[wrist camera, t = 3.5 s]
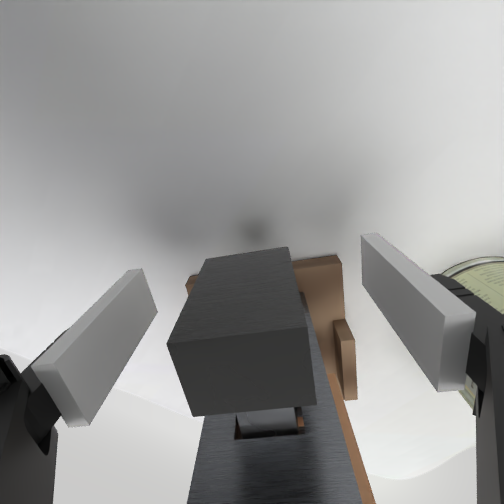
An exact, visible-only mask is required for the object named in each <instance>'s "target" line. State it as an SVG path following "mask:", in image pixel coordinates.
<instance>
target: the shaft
mask: <svg viewBox="0 0 504 504" xmlns="http://www.w3.org/2000/svg"><path fill="white" fill-rule="evenodd" d="M166 344H167V347H168V350H169V352H170V355H171V358H172V361H173V363H174V366H175V369H176V372H177V374H178V377H179V380H180V383H181V385H182V388H183V391H184V394H185V396H186V399H187V402H188V405H189V407H190V410H191V413H192V416H193V417H197V416H208V415H218V414H229V413H236V416H237V419H238V423H239V426H240V430H241V434H242V437H243V439H254V438H266V437H278V436H290V435H300V431H299V425H298V419H297V412H296V407H302V406H312V405H317V400H316V392H315V384H314V376H313V368H312V359H311V351H310V343H309V335H308V327H307V323H306V318H305V314H304V310H303V306H302V302H301V298H300V294H299V290H298V286H297V282H296V278H295V274H294V270H293V266H292V262H291V257H290V253H289V249H288V247H282V248H276V249H269V250H262V251H256V252H249V253H243V254H236V255H229V256H223V257H216V258H209V259H206V260H205V262H204V264H203V266H202V268H201V271H200V273H199V275H198V277H197V279H196V281H195V283H194V286H193V288H192V290H191V292H190V294H189V296H188V298H187V301H186V303H185V305H184V307H183V309H182V311H181V313H180V316H179V318H178V320H177V322H176V324H175V326H174V328H173V331H172V333H171V335H170V337H169V339H168V341H167V343H166Z"/></svg>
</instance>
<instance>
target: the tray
mask: <svg viewBox="0 0 504 504" xmlns="http://www.w3.org/2000/svg"><path fill="white" fill-rule="evenodd" d="M292 266H293V270H294V274H295V278H296V282H297V286H298V290H299V292H304V294H305V298H306V301H307V305H308V309H309V312H310V316H311V319H312V323H313V327H314V330H315V334H316V337H317V341H318V344H319V348H320V352H321V355H322V359H323V362H324V366H325V370H326V373H327V374H330V373H335V375H336V378H337V382H338V385H339V388H340V391H341V394H342V397H343V400H345V401H347V400H357V399H358V398H357V376H356V354H355V339H354V337H353V335H352V333H351V330H350V328H349V326H348V324H347V322H346V320H345V309H344V292H343V275H342V263H341V261H340V259H339V258H338V256H337V255H334V256H327V257H320V258H313V259H306V260H299V261H293V262H292ZM197 277H198V275H197V276H190V277H189V279H188V281H187V283H186V285H185V286H186V289H187V292H188V296H189V294H190V292H191V290H192V288H193V286H194V283H195V281H196V279H197Z"/></svg>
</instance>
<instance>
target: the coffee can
mask: <svg viewBox="0 0 504 504" xmlns="http://www.w3.org/2000/svg"><path fill="white" fill-rule="evenodd" d="M442 275H444V276H447V277H450V278H452V279H455V280H456V281H457V282H459V283H460V284H462V285H463V286H464V287H465V289H469V290H470V291H471V292H473V293H474V295H477V296H478V297H480V298H481V299H482V300H484V301H485V302H486V303H488V304H489V305H491V306H492V307H493V308H495V309H496V310H498V311H499V312H500V313H502V314H503V315H504V258H502V257H486V258H478V259H474V260H470V261H467V262H464V263H461V264H459V265H456V266H454V267H452V268H450V269H448V270H447V271H445V272H444V273H443V274H442ZM458 391H459V393H460V394H461V395H462V397H463V398H464V399H465V400H466V402H467V403H468V404H469V405H470V407H471V408H472V409H473V408H474V402H475V397H476V391H477V385H476V384H475V383H474V382H473V381H472V379H471V378H470V377H469V376H468V375H467V376H466V383H465V389H464V390H458Z"/></svg>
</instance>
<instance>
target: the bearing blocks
mask: <svg viewBox="0 0 504 504" xmlns="http://www.w3.org/2000/svg"><path fill="white" fill-rule="evenodd" d="M299 294H300V298H301V302H302V306H303V310H304V314H305V318H306V323H307V327H308V335H309V343H310V351H311V359H312V368H313V376H314V384H315V392H316V400H317V405H312V406H302V407H296V412H297V417H303V422H304V426H300V427H299V431H300V435H290V436H278V437H266V438H254V439H243V437H242V434H241V430H240V426H239V423H238V419H237V416H236V413H229V414H218V415H208V416H205V418H204V422H203V428H202V432H201V437H200V442H199V447H198V452H197V457H196V461H195V466H194V471H193V476H192V481H191V486H190V491H189V496H188V501H187V504H363V503H362V499H361V496H360V492H359V488H358V485H357V481H356V478H355V474H354V470H353V467H352V463H351V460H350V456H349V452H348V449H347V445H346V442H345V438H344V434H343V431H342V427H341V424H340V420H339V416H338V413H337V409H336V406H335V402H334V398H333V395H332V391H331V388H330V384H329V380H328V377H327V373H326V370H325V366H324V362H323V359H322V355H321V352H320V348H319V344H318V341H317V337H316V334H315V330H314V327H313V323H312V319H311V316H310V312H309V309H308V305H307V301H306V298H305V294H304V292H299Z"/></svg>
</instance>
